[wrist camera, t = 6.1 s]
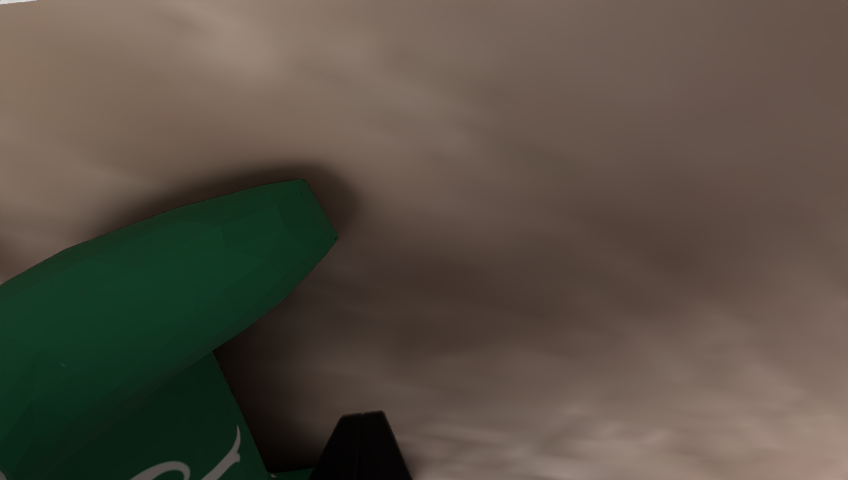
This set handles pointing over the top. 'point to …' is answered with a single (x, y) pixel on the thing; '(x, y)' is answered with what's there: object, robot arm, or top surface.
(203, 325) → the gaming controller
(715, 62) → the top surface
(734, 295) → the top surface
